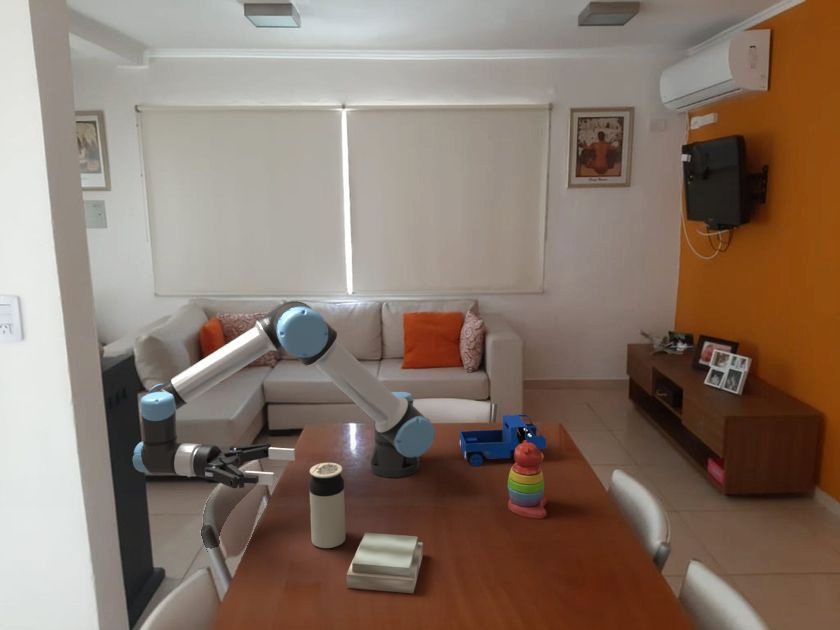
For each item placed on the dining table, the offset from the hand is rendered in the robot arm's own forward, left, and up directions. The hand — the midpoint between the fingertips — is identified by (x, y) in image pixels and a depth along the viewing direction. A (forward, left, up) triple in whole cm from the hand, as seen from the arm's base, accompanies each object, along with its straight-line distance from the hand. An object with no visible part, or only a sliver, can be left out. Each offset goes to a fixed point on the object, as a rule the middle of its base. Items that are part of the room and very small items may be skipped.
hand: (284, 466), depth 141 cm
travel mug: (0, +10, -18) cm, 21 cm away
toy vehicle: (-54, +50, -19) cm, 76 cm away
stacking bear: (-22, +57, -18) cm, 64 cm away
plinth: (+10, +26, -18) cm, 33 cm away
